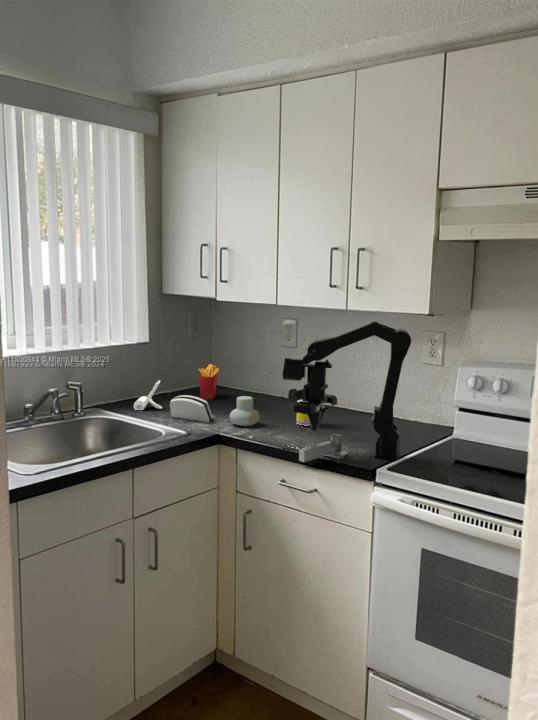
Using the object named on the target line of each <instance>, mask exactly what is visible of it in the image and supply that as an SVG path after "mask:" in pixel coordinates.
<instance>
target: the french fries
mask: <svg viewBox="0 0 538 720" xmlns="http://www.w3.org/2000/svg"><path fill="white" fill-rule="evenodd" d="M197 370H198V371H199V372H200V375H199V376H198V386H199V395H200V397H199V398H201V399H203V400H208V399H211V400H210V401H212V400H213V399H215V398H216V391H217V382H218V374H217V373H219V370H220V368H219V367H216V365H213V364H212V363H209V364H208V366H207V367H206V368H203V367H202V368H198V369H197Z"/></svg>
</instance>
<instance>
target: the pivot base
mask: <svg viewBox="0 0 538 720" xmlns="http://www.w3.org/2000/svg"><path fill="white" fill-rule="evenodd" d="M349 453H350V452H349V451H345V450H342V451H341V452H339V453H332V454H329V455H326V456H330V457H334V458H342V457H344V456H345V455H347V454H349ZM334 458H333V459H334ZM344 458H345V457H344ZM342 459H343V458H342Z"/></svg>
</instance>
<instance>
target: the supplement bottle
mask: <svg viewBox="0 0 538 720" xmlns="http://www.w3.org/2000/svg"><path fill="white" fill-rule="evenodd" d="M300 401H302V400H298V401H296V403H297V402H300ZM303 402H305V401H303ZM306 402H307V401H306ZM297 424H299V425H304V426H309V425H311V423H310V420H309V417H308V415H307V414H302V413H296V425H297ZM299 425H298V426H299Z"/></svg>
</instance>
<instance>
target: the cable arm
mask: <svg viewBox="0 0 538 720" xmlns="http://www.w3.org/2000/svg"><path fill="white" fill-rule="evenodd" d="M329 435H330V436H329V437H330V439H329V440H327V441H326V440H325V441H323V442H319V443H316V444H313V445H309V446H305V448H302V449H299V452H298V461H299V462H302V463H306V462H310V461H313V460H316V459H319V458H322V457H323V456H326V455H329V454H332V453H339V452H341V451H343V450H342V448H343V447H342V446H343V434H341V433H331V434H329Z"/></svg>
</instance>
